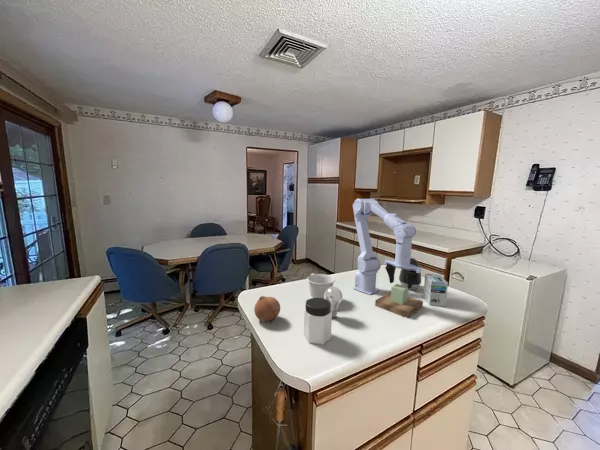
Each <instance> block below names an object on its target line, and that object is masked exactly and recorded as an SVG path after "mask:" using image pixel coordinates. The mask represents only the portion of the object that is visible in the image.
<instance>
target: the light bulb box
mask: <svg viewBox="0 0 600 450" xmlns="http://www.w3.org/2000/svg"><path fill="white" fill-rule="evenodd" d="M448 286H449V282H448V281H447V280H446V279H444V278H443V276H442V275H441V274H437V273H435V274H434V273H425V274H424V284H423V297H424V299H425V301H426V302H427V304H428V305H429V306H438V307H445V308H446V307H447V295H448V288H449V287H448Z"/></svg>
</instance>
